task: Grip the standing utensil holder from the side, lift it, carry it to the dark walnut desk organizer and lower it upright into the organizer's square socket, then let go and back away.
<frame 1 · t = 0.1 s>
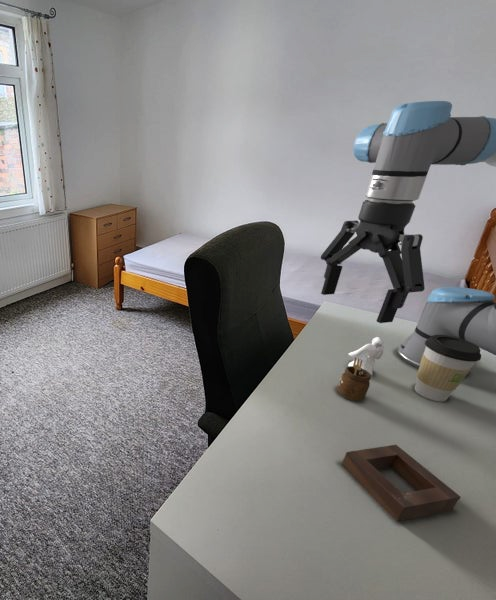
hand: (353, 306, 70), 28 cm above the table, tool pointing down, fingers open, 13 cm apart
organizer: (393, 486, 63), on the table
coffee cup: (429, 393, 87), on the table
utensil holder: (349, 395, 87), on the table
figurine: (359, 370, 97), on the table
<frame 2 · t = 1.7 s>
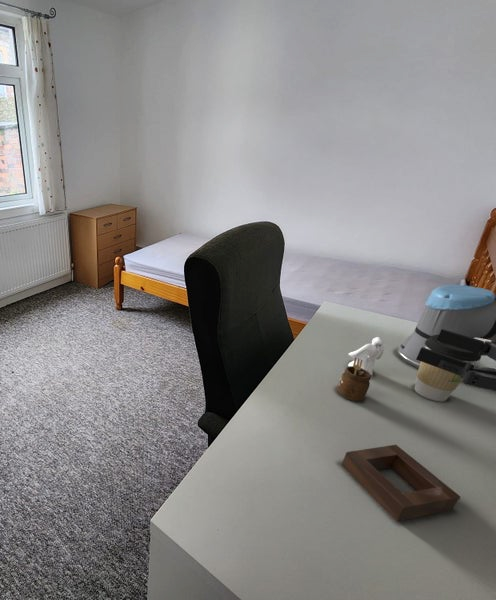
hand: (429, 343, 72), 20 cm above the table, tool horizontal, fingers open, 13 cm apart
nothing on the table moved.
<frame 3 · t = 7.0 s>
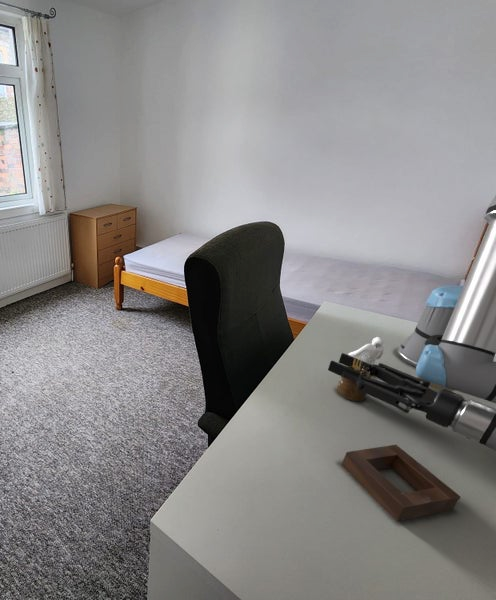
hand: (335, 361, 88), 7 cm above the table, tool horizontal, fingers closed on utensil holder, 5 cm apart
utensil holder: (349, 395, 87), on the table, touching gripper
everything else where it was.
when the fingers open (7 cm above the table, at t = 15.9 s): utensil holder stays where it is, resting in organizer.
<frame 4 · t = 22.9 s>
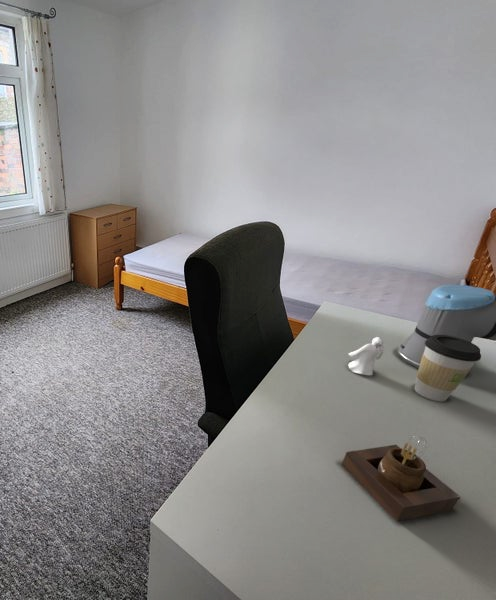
utensil holder: (392, 487, 63), resting in organizer
everything else where it was.
at the end: utensil holder 0.1 cm off-centre in the organizer, point 0.0 cm above the organizer's base; utensil holder tilted 0°; the gripper is holding nothing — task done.
